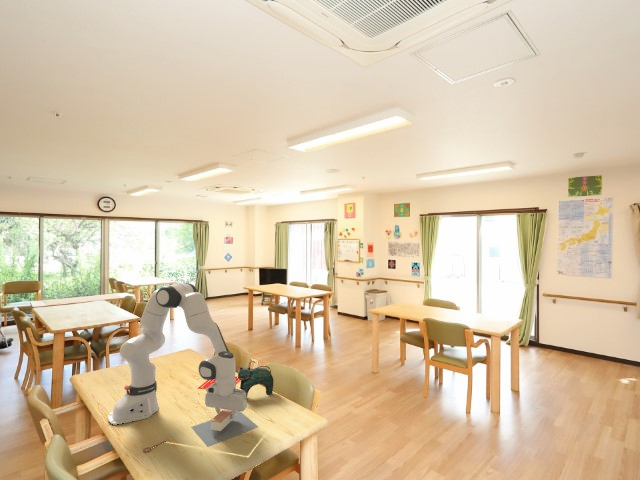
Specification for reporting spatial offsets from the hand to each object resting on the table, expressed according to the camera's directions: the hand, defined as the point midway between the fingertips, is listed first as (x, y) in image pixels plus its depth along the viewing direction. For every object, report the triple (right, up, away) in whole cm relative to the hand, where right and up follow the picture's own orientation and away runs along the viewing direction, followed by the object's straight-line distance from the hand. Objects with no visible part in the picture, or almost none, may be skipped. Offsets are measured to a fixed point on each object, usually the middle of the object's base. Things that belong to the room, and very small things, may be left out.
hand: (226, 417), depth 158 cm
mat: (0, -4, -1) cm, 4 cm away
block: (-2, +1, -8) cm, 9 cm away
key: (-25, -5, -13) cm, 28 cm away
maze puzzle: (-17, -5, +50) cm, 53 cm away
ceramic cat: (+8, -5, +31) cm, 32 cm away
